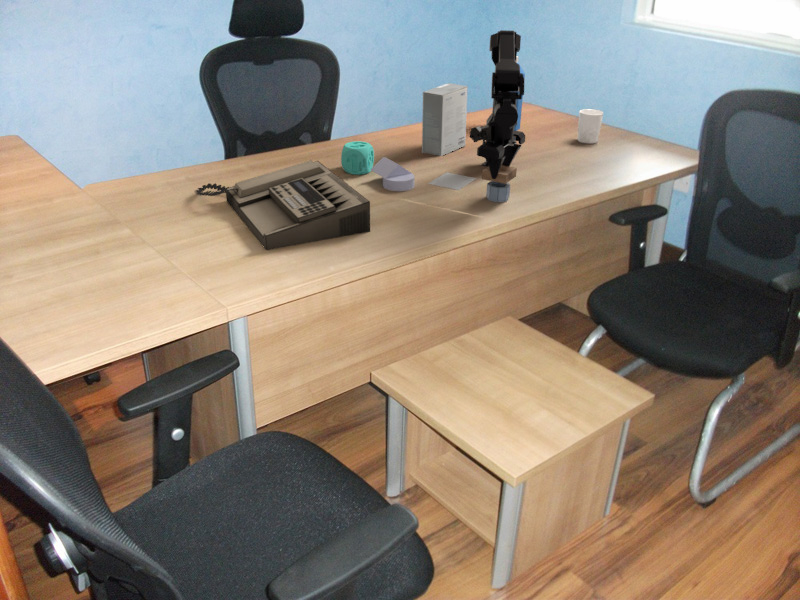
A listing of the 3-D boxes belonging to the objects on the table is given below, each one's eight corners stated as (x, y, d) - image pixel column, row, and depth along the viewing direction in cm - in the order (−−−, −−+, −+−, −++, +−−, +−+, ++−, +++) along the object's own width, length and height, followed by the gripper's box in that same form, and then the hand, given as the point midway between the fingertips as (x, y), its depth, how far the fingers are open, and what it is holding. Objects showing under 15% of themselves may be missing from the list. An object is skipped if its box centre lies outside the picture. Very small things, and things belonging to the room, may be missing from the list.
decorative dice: (341, 173, 224) (340, 147, 220) (349, 165, 230) (348, 140, 227) (367, 176, 222) (366, 149, 218) (374, 167, 229) (374, 142, 225)
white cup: (601, 144, 254) (605, 115, 249) (578, 144, 254) (581, 114, 249) (596, 137, 260) (600, 109, 256) (573, 137, 260) (577, 108, 256)
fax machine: (189, 195, 207) (185, 162, 203) (307, 178, 221) (305, 147, 216) (233, 257, 172) (229, 219, 167) (370, 232, 185) (369, 196, 181)
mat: (446, 173, 225) (446, 172, 224) (476, 179, 220) (476, 178, 220) (427, 184, 216) (427, 183, 215) (458, 191, 211) (458, 190, 211)
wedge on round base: (370, 181, 218) (392, 194, 208) (370, 158, 215) (393, 171, 205) (396, 176, 222) (420, 189, 212) (397, 154, 219) (420, 166, 209)
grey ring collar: (492, 194, 209) (493, 179, 207) (511, 198, 207) (513, 183, 205) (483, 201, 205) (484, 185, 203) (503, 205, 202) (504, 189, 200)
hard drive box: (446, 142, 253) (449, 82, 244) (465, 146, 250) (469, 85, 240) (420, 153, 242) (422, 91, 233) (440, 157, 238) (442, 94, 229)
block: (492, 171, 207) (493, 163, 206) (515, 176, 204) (516, 167, 203) (481, 179, 202) (482, 170, 201) (505, 183, 199) (506, 175, 198)
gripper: (490, 105, 206) (486, 160, 213) (460, 121, 192) (457, 179, 199) (528, 111, 201) (523, 167, 208) (500, 127, 187) (495, 186, 194)
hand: (499, 174), depth 203 cm, fingers closed on block, 7 cm apart
